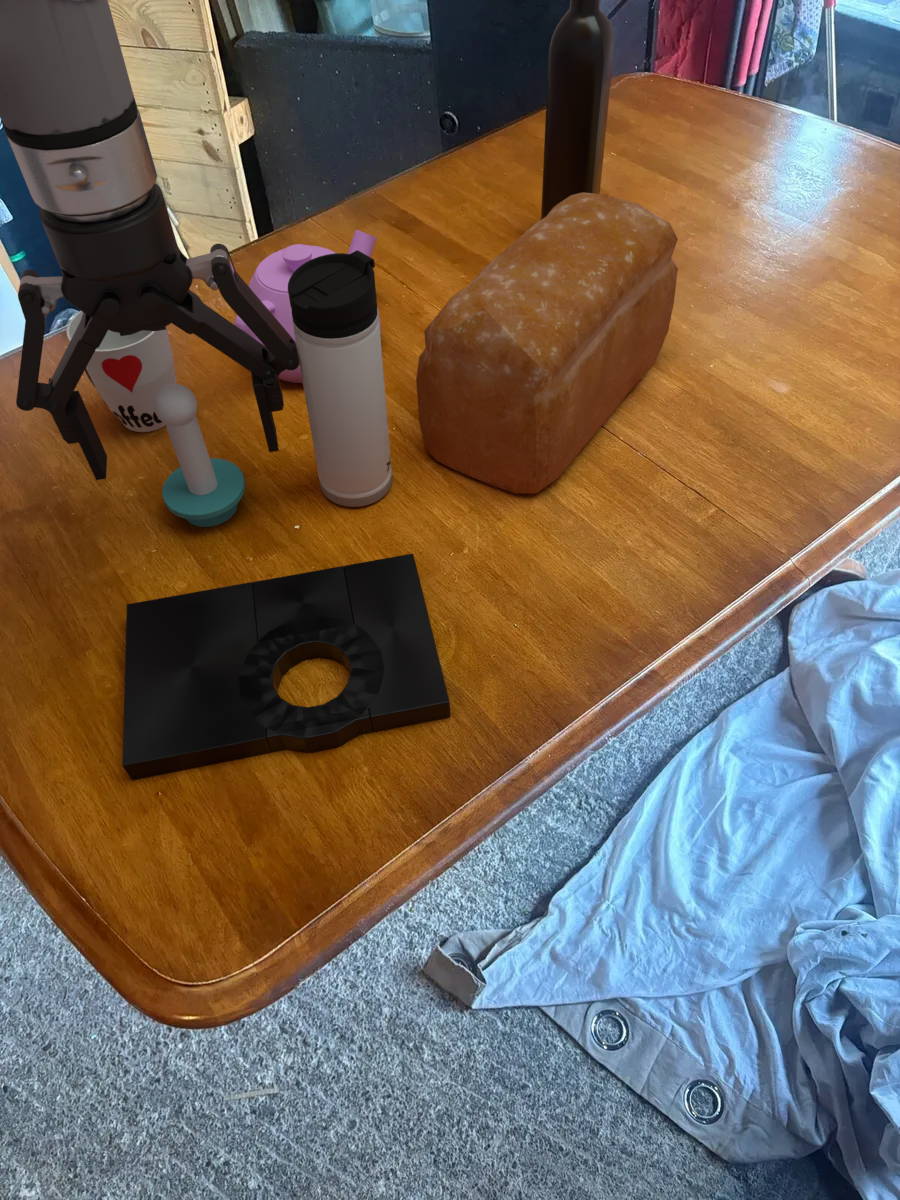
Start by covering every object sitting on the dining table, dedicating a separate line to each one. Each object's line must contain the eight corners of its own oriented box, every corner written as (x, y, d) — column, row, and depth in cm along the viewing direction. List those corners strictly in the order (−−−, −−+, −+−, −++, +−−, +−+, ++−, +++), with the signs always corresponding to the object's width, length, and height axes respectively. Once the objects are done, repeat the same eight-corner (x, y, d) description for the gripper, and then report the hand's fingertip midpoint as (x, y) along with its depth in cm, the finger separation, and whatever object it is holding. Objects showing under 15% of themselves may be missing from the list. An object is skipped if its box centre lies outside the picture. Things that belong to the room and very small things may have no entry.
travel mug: (410, 481, 77) (397, 269, 62) (352, 519, 74) (323, 308, 59) (363, 447, 80) (339, 237, 65) (305, 483, 77) (266, 272, 62)
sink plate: (131, 788, 60) (121, 774, 58) (134, 620, 69) (126, 604, 67) (452, 724, 62) (451, 709, 60) (414, 569, 71) (413, 553, 69)
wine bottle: (537, 248, 100) (551, -76, 77) (549, 222, 104) (567, -95, 80) (586, 255, 99) (616, -72, 76) (597, 229, 102) (629, -92, 79)
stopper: (171, 543, 74) (122, 424, 64) (170, 487, 78) (124, 367, 68) (253, 528, 74) (217, 409, 65) (248, 474, 79) (213, 354, 69)
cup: (89, 434, 83) (47, 343, 75) (133, 381, 88) (98, 290, 80) (166, 449, 81) (132, 357, 73) (207, 395, 86) (179, 303, 78)
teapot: (430, 314, 93) (424, 216, 85) (311, 422, 83) (291, 323, 74) (326, 278, 98) (311, 182, 90) (201, 376, 88) (171, 277, 79)
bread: (407, 453, 80) (392, 297, 67) (551, 308, 93) (560, 156, 81) (542, 511, 74) (552, 353, 62) (674, 348, 88) (703, 192, 76)
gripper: (-126, 253, 51) (23, 513, 68) (305, 196, 54) (348, 460, 70) (-102, 191, 56) (32, 448, 72) (294, 141, 58) (336, 401, 75)
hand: (188, 454), depth 71 cm, fingers open, 13 cm apart
